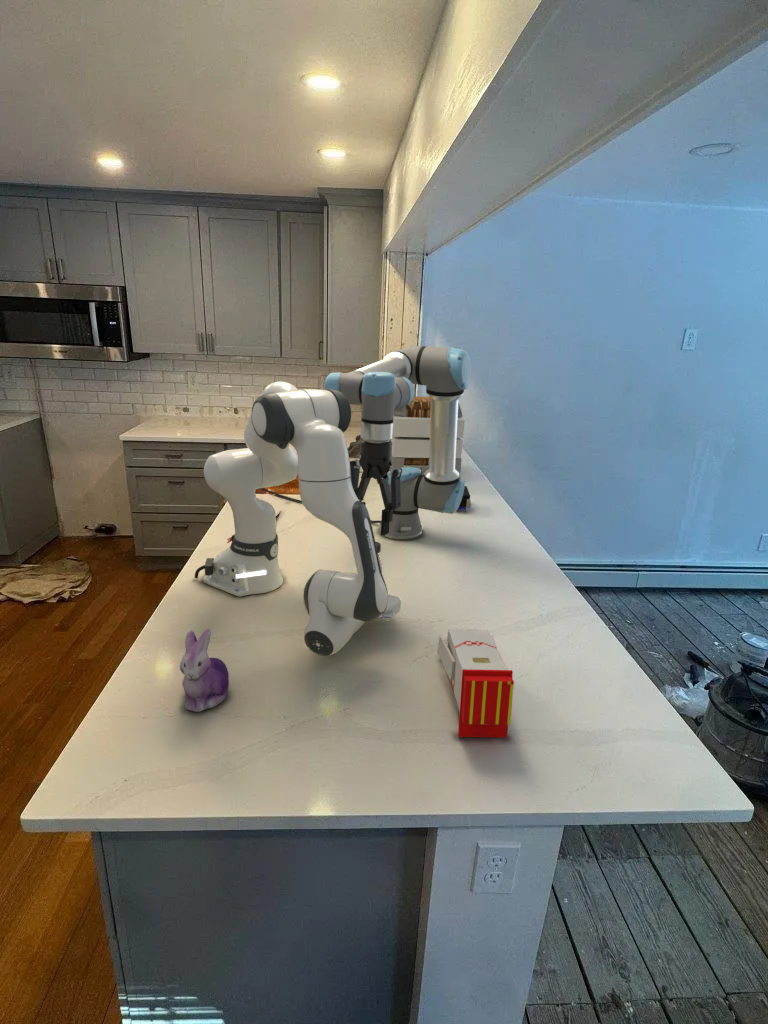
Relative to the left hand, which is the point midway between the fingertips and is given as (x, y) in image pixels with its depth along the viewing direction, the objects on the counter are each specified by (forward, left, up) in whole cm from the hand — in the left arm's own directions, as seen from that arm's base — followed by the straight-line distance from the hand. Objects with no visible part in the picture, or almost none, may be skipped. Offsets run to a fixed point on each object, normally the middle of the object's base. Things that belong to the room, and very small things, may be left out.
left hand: (372, 587), depth 148 cm
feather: (-58, +49, -6) cm, 77 cm away
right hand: (0, -1, +16) cm, 16 cm away
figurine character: (0, +91, -6) cm, 91 cm away
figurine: (-15, -48, -6) cm, 51 cm away
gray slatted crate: (-30, +131, -6) cm, 135 cm away
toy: (+32, -23, -6) cm, 40 cm away
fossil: (-72, +151, -6) cm, 167 cm away
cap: (0, -1, +12) cm, 12 cm away
